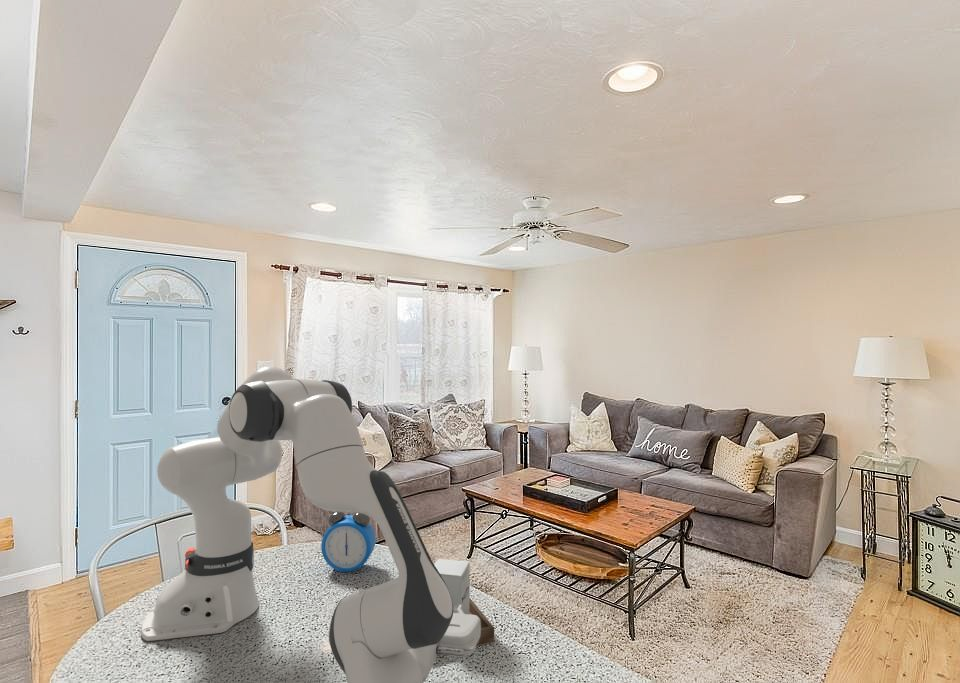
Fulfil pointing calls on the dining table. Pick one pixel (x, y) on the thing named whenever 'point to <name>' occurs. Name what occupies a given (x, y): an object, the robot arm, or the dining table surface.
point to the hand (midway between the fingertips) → (434, 605)
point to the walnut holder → (482, 625)
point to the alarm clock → (348, 541)
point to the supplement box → (456, 580)
